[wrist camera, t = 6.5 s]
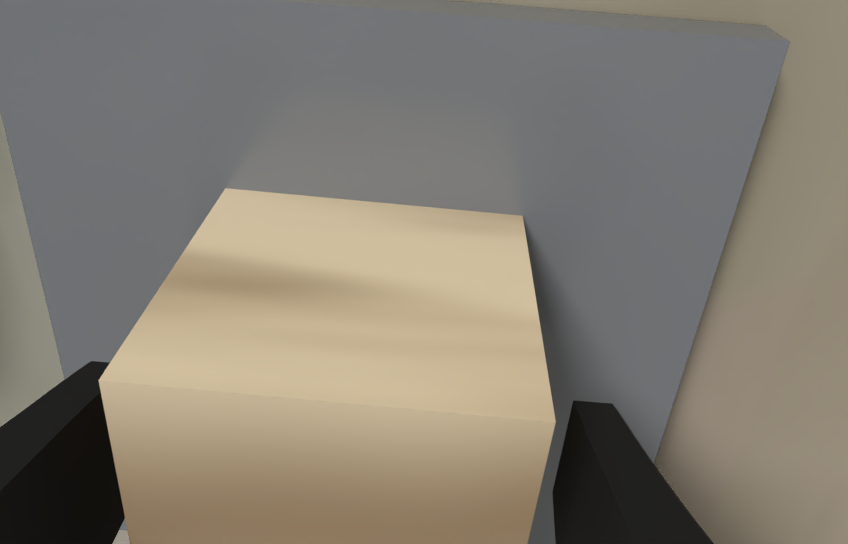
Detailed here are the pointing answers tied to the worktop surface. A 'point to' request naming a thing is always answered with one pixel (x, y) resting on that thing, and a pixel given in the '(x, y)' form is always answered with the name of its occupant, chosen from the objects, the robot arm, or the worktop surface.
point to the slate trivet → (397, 156)
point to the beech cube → (335, 380)
